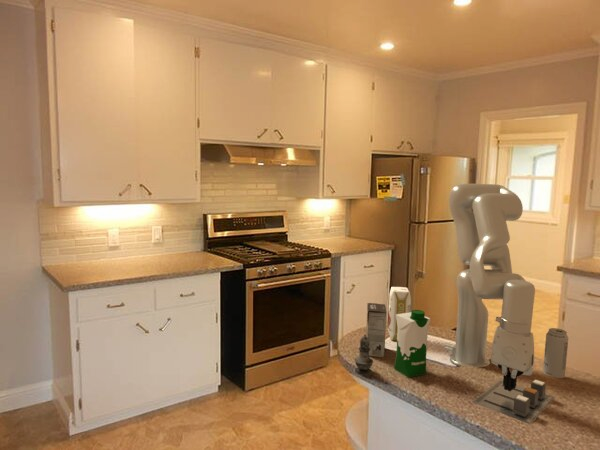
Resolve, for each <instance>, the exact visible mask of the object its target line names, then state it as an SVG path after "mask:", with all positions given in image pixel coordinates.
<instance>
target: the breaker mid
mask: <svg viewBox="0 0 600 450" xmlns="http://www.w3.org/2000/svg"><path fill="white" fill-rule="evenodd" d="M538 393H539V391H537V390H535V389H532V388H531V387H528V386H527V387H525V389H524V390H523V397H526V398H529V399H530V407H532V408H534V407H535V406H536V405H537V404H538Z"/></svg>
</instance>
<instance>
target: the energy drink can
mask: <svg viewBox="0 0 600 450" xmlns="http://www.w3.org/2000/svg"><path fill="white" fill-rule="evenodd" d="M567 333H568V332H567V330H565V329H562V328H556V327H555V328H554V327H549V328H548V331H547V332H546V334H545V344H544V353H543V354H544V355H543V367H542V373H543V374H544V375H546V376H549V377H551V378H555V379H556V378H557V379H563V378H566V370H567V368H566V367H567V357H568V347H569V346H568V345H569V336H568V334H567Z"/></svg>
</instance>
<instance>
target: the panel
mask: <svg viewBox="0 0 600 450" xmlns="http://www.w3.org/2000/svg"><path fill="white" fill-rule="evenodd" d="M525 388H526V387H525V386H521V385H520V384H519V385H518V384H516V387H515V389H512V390H511V391H508V390H505V389H504V385H503V379H499V380H498V381H496V382H494V383H493V384H492V385H491V386H490V387H488V388H487V389H485V391H484V392H482V393H481V394H480V395H478V396H476V397H475V398H474V399H473V400H472V401H471V403H472V404H476V405H478V406H480V407H484V408H486V409H488V410H490V411H491V410H492V411H493V412H494V411H495V412H497V413H500V414H502V415H505V416H507V417H510V418H512V419H516V420H518V421H521V422H523V423H526V424H528V425H532V424H533V423H534V422H535V420H537V419H538V417H539V416H540V415H541V414H542V413H543V412H544V411H545V409H547V407H548V406H549V405H550V404H551V403H552V402H553V401H554V400H555V398H556V397H555V396H552V395H550V394H547V393H546V395H545V396H544V397H543V399H542V400H541V399H538V404H537V405H536V406H535V407H534V408H532V407H529V410H530V412H529V413H528V414H527V415H526V416H525V417H523V416H521V415H518V414H515V413H512V412H513V408H514V398H515V397H516V396H518V395H520V396H523V390H524V389H525Z"/></svg>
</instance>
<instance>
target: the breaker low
mask: <svg viewBox="0 0 600 450" xmlns="http://www.w3.org/2000/svg"><path fill="white" fill-rule="evenodd" d="M529 407H530V399H529V398H526V397H523V396H520V395H518V396H516V397H515V398H514V408H513V412H512V413H515V414H518V415H521V416H523V417H525V416H526V415H527V414H528V413H529V412H530V410H529Z"/></svg>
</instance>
